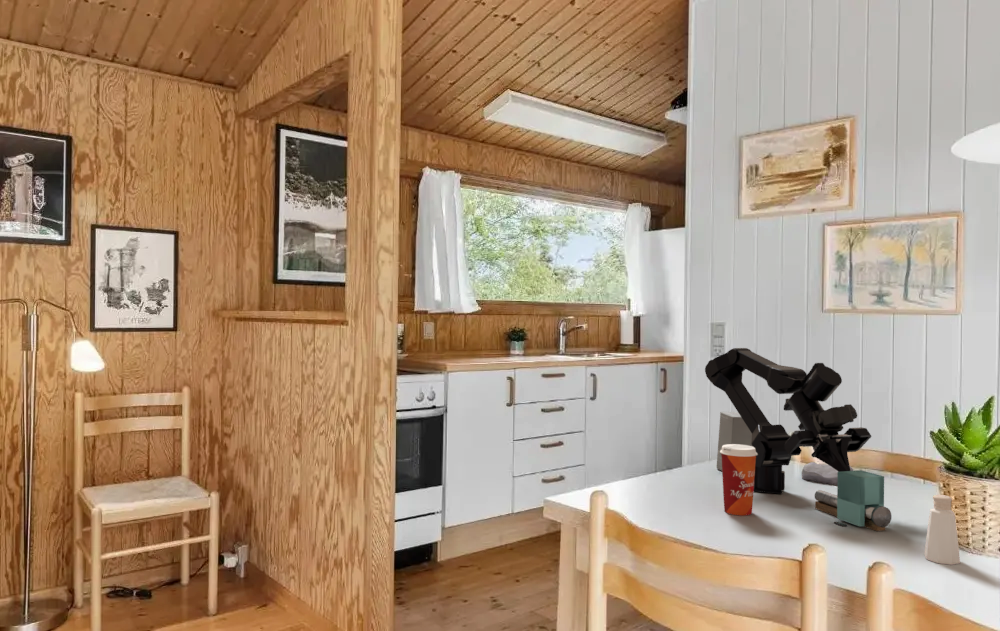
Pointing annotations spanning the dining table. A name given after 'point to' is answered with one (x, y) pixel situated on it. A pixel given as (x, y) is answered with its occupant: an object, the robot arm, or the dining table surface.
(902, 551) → the dining table surface
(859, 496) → the teal notched block
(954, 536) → the pepper shaker
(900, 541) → the dining table surface
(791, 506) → the dining table surface
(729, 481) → the paper cup
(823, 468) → the stone block
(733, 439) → the skincare box
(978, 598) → the dining table surface
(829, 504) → the pipe rig
